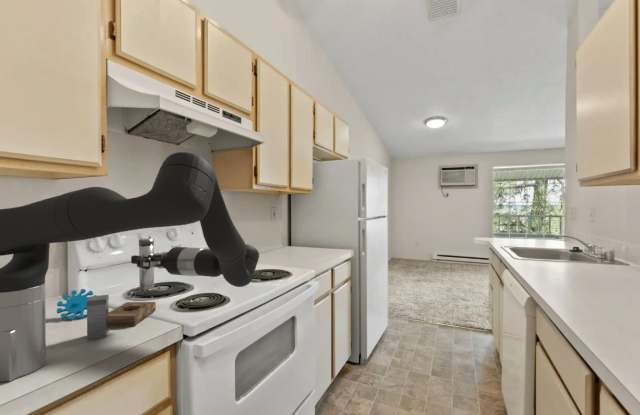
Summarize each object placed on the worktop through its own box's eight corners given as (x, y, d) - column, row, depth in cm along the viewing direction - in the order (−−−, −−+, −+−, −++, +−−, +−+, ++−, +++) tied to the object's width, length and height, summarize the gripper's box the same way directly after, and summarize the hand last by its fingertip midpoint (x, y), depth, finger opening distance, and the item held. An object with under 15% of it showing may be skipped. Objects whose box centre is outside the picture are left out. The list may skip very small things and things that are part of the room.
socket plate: (134, 326, 86) (134, 315, 86) (101, 326, 86) (101, 316, 86) (155, 311, 98) (155, 301, 98) (126, 311, 98) (126, 302, 98)
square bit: (106, 337, 79) (106, 298, 79) (86, 340, 77) (86, 300, 77) (109, 331, 83) (108, 294, 83) (90, 334, 81) (89, 296, 81)
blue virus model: (49, 317, 88) (64, 287, 95) (53, 327, 92) (67, 296, 99) (94, 318, 92) (105, 288, 99) (97, 327, 96) (107, 297, 102)
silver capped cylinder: (150, 289, 86) (149, 239, 85) (136, 290, 85) (136, 239, 85) (156, 286, 89) (156, 238, 89) (143, 286, 89) (143, 238, 89)
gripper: (168, 281, 76) (115, 276, 81) (205, 269, 90) (158, 266, 95) (168, 251, 76) (115, 248, 81) (205, 244, 90) (158, 242, 95)
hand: (139, 258), depth 88 cm, fingers closed on silver capped cylinder, 3 cm apart
